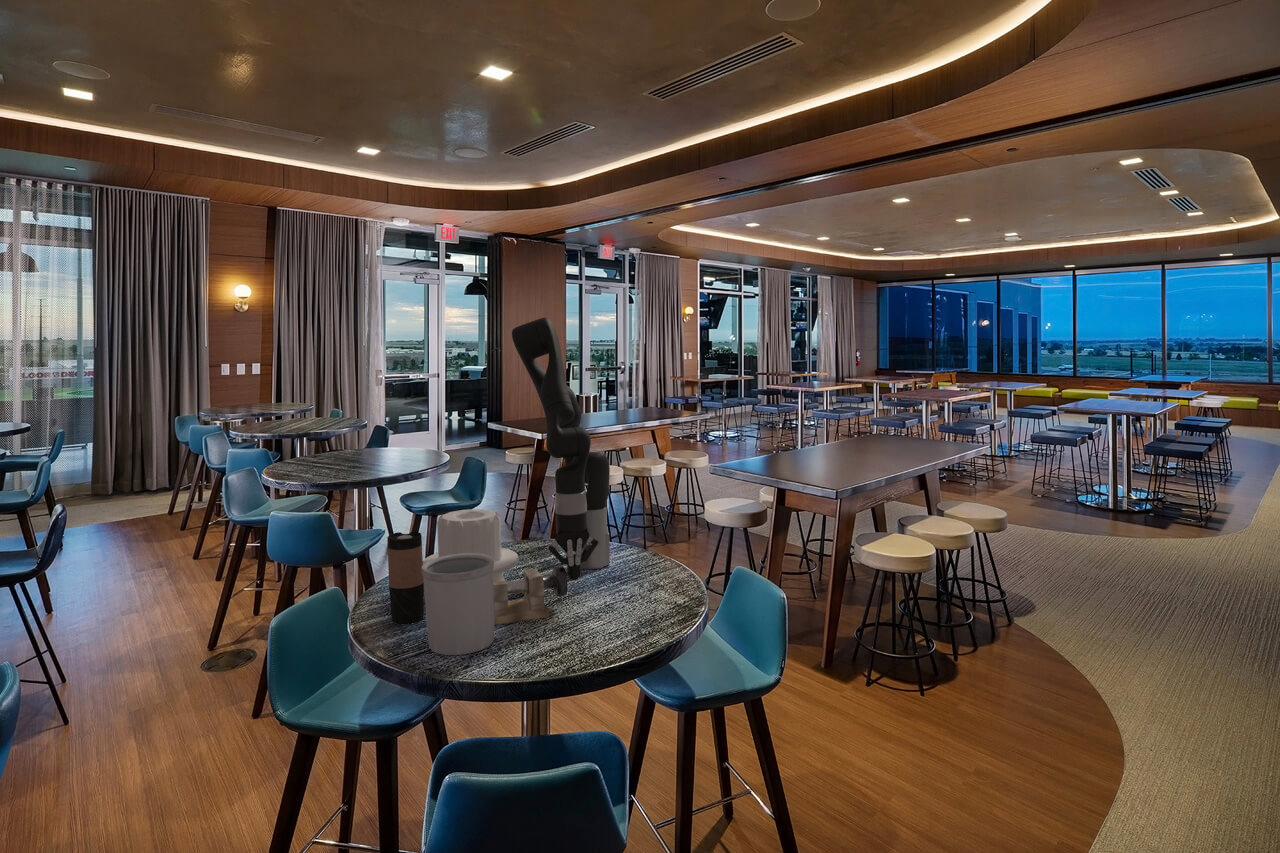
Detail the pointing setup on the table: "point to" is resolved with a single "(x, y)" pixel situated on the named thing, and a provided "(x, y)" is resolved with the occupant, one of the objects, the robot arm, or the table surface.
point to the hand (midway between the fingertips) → (574, 579)
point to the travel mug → (406, 577)
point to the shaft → (551, 582)
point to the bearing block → (520, 608)
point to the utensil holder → (459, 603)
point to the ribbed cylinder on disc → (473, 537)
